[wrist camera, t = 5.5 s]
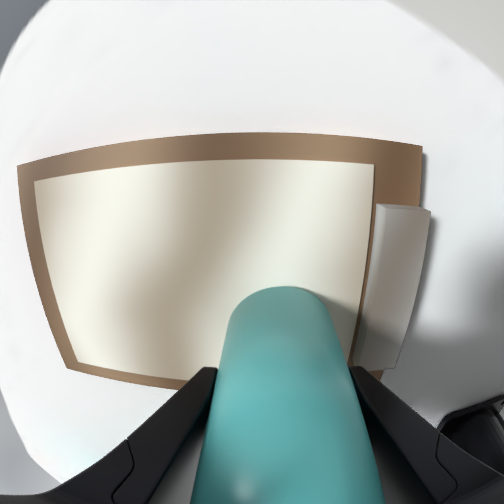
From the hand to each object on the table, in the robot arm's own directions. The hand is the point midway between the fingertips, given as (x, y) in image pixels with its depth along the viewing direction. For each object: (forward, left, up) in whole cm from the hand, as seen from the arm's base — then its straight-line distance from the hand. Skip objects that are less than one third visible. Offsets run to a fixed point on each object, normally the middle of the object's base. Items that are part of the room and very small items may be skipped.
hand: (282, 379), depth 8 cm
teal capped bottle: (0, 0, -2) cm, 2 cm away
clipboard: (+3, -2, -3) cm, 5 cm away
